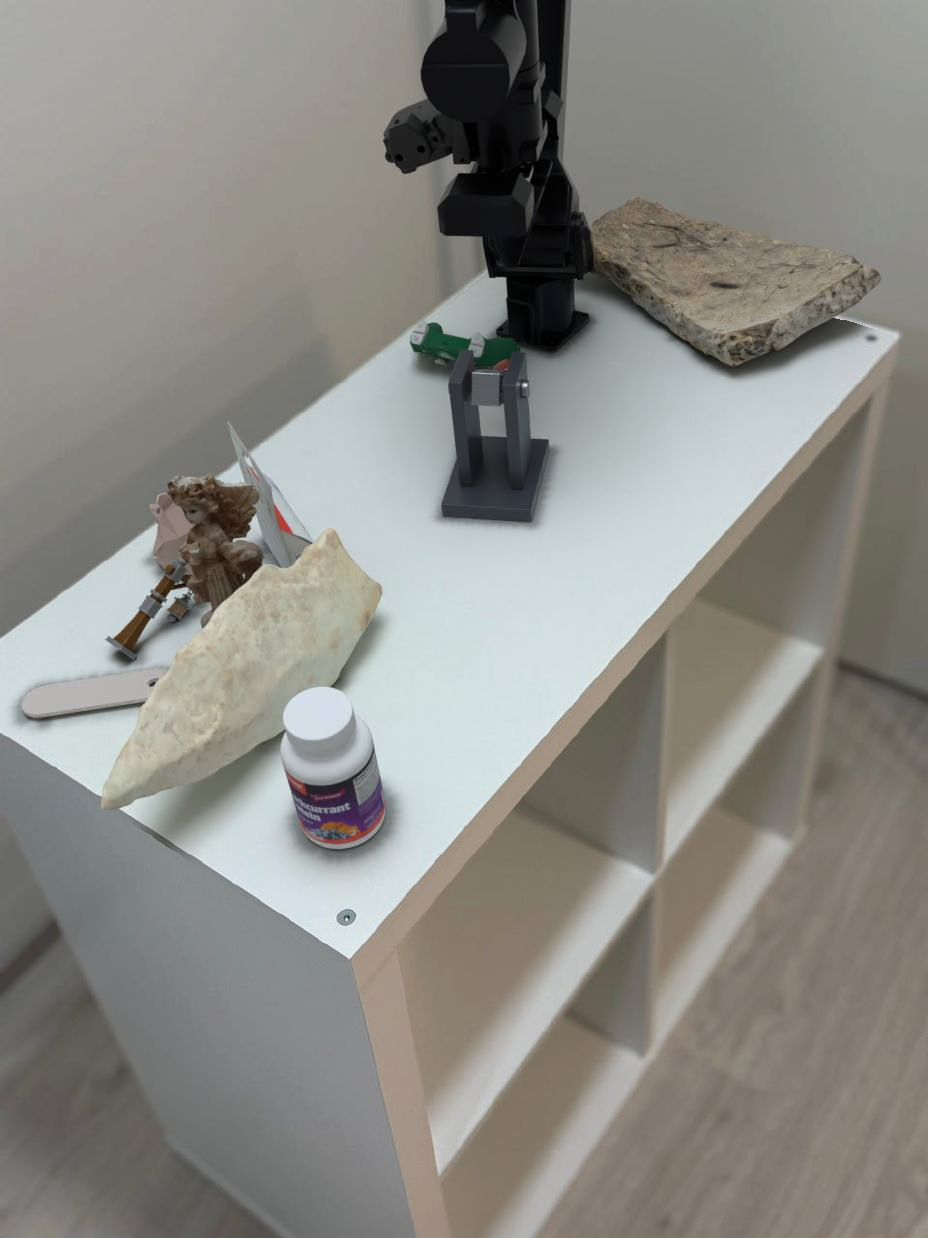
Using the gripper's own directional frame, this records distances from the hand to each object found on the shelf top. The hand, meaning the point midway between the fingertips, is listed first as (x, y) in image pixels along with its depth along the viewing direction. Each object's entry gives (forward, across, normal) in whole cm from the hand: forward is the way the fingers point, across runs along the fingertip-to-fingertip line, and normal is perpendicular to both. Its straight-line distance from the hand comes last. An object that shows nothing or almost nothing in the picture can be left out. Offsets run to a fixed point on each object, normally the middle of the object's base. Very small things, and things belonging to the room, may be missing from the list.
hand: (511, 265), depth 98 cm
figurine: (+13, +31, -14) cm, 37 cm away
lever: (+7, +8, 0) cm, 11 cm away
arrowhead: (+9, +26, -8) cm, 29 cm away
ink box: (+13, +23, -13) cm, 29 cm away
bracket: (+13, +11, 0) cm, 17 cm away
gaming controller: (+13, -6, -6) cm, 16 cm away
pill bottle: (+13, +44, -3) cm, 46 cm away
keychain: (+13, +38, -22) cm, 46 cm away
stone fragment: (+10, -11, +9) cm, 17 cm away
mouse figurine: (+13, +23, -21) cm, 33 cm away
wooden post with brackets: (+13, +30, -21) cm, 39 cm away
